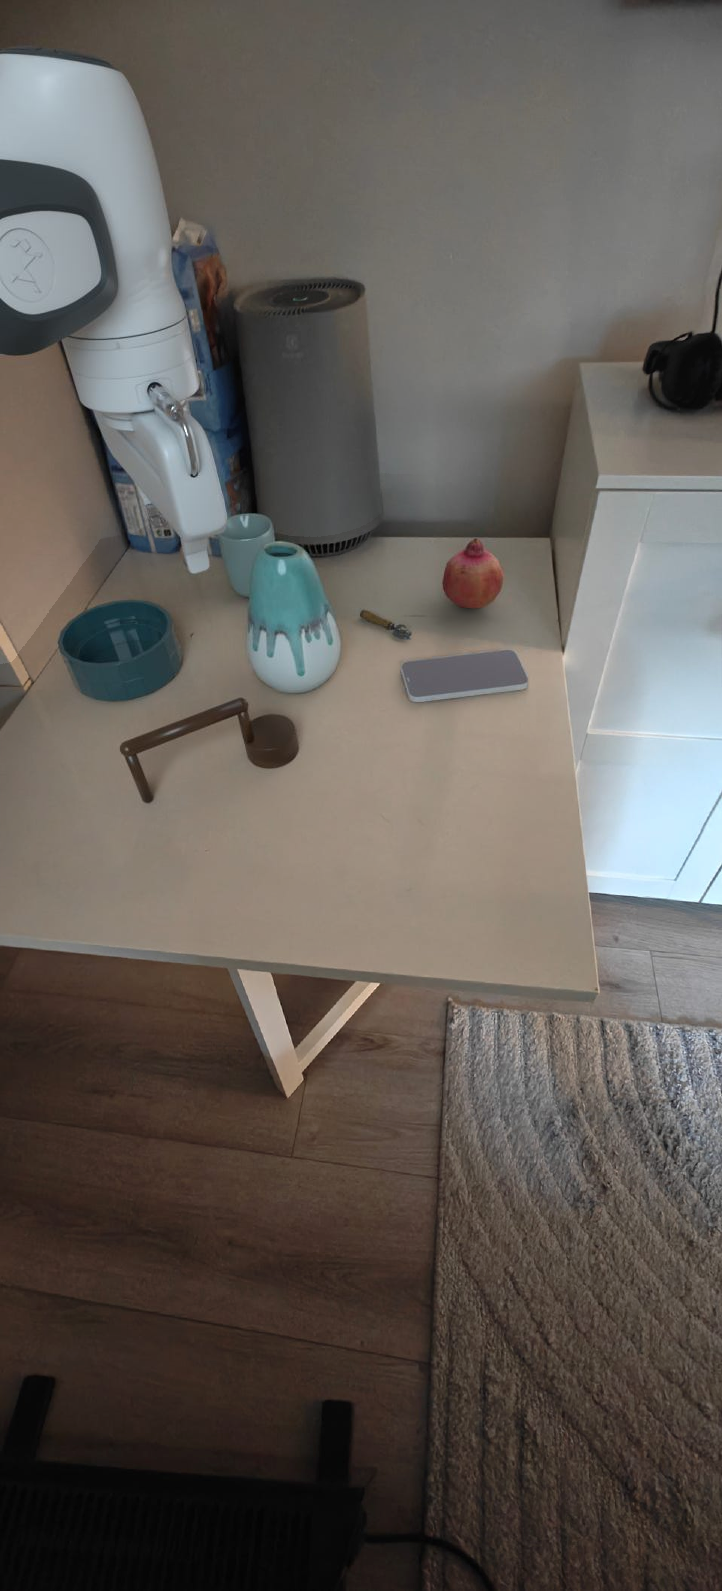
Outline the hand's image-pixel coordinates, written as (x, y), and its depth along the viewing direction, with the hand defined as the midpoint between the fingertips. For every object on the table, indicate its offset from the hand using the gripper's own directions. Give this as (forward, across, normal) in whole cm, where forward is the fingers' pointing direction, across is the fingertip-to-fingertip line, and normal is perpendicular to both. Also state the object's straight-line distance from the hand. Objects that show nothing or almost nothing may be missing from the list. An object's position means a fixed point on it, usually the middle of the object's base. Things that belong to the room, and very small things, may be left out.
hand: (178, 544), depth 63 cm
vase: (+27, +11, -14) cm, 32 cm away
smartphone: (+27, -1, -31) cm, 41 cm away
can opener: (+27, +13, -28) cm, 41 cm away
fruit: (+27, +12, -41) cm, 50 cm away
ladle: (+27, 0, +1) cm, 27 cm away
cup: (+27, +32, -17) cm, 46 cm away
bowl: (+27, +24, +5) cm, 37 cm away
